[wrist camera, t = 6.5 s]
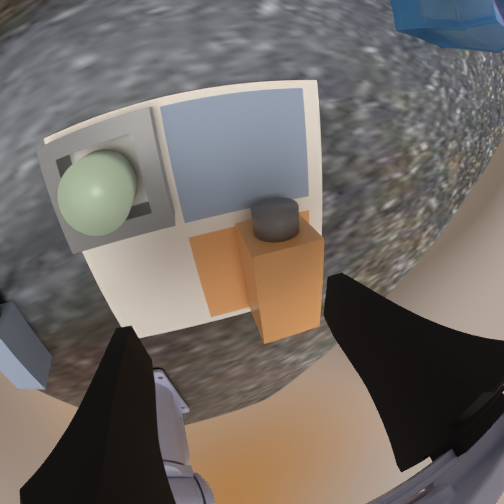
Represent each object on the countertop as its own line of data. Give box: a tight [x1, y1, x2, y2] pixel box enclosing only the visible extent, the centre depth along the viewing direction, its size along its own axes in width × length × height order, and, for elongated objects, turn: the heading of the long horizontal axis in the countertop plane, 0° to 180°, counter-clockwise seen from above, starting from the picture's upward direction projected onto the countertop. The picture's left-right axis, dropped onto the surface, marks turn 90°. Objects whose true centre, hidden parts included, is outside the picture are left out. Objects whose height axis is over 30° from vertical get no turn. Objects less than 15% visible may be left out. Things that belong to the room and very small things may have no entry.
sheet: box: [44, 80, 322, 338], centre depth 17 cm, size 16×16×1 cm
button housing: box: [36, 107, 176, 254], centre depth 12 cm, size 6×6×2 cm
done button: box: [57, 149, 137, 236], centre depth 11 cm, size 4×4×2 cm
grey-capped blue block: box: [0, 301, 53, 389], centre depth 15 cm, size 8×4×4 cm, turn 5°
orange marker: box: [235, 197, 324, 344], centre depth 17 cm, size 8×4×4 cm, turn 7°
